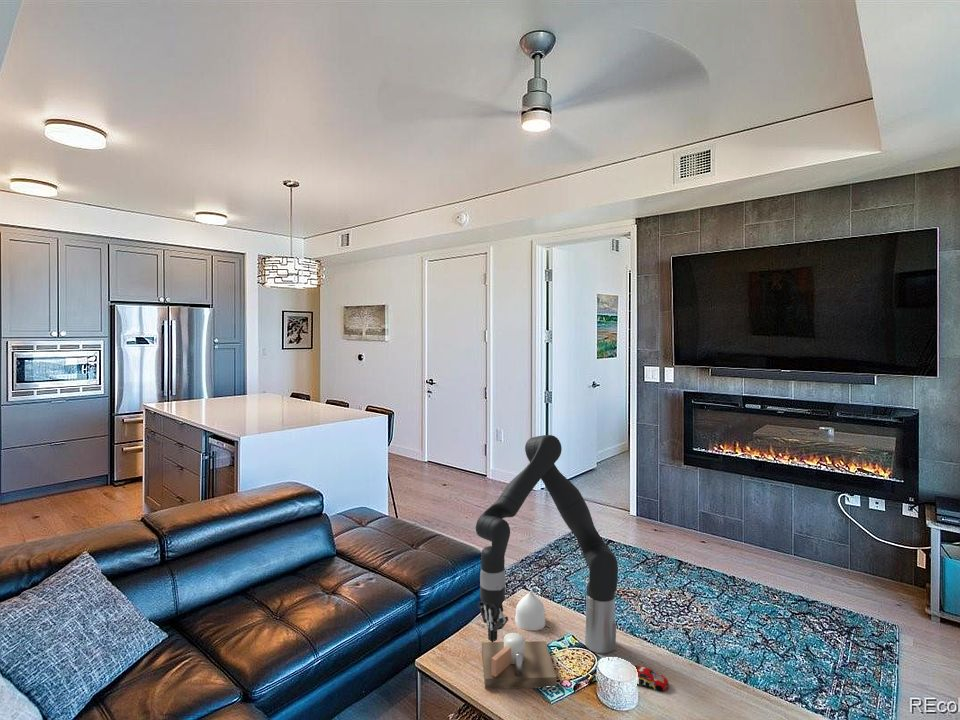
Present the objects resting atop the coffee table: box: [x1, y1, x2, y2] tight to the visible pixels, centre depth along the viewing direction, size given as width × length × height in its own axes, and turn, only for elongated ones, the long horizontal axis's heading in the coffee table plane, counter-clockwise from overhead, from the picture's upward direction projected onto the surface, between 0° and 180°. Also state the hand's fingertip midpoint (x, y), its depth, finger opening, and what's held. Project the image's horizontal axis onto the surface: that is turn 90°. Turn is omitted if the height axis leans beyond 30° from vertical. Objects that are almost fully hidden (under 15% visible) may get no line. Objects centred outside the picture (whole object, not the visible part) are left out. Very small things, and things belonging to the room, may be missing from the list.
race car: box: [633, 664, 670, 693], centre depth 153 cm, size 13×5×4 cm, turn 64°
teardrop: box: [514, 589, 546, 631], centre depth 184 cm, size 11×11×12 cm
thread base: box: [481, 640, 558, 690], centre depth 158 cm, size 21×18×9 cm
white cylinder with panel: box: [491, 632, 526, 677], centre depth 155 cm, size 14×6×6 cm, turn 143°
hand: (492, 640), depth 153 cm, fingers closed
